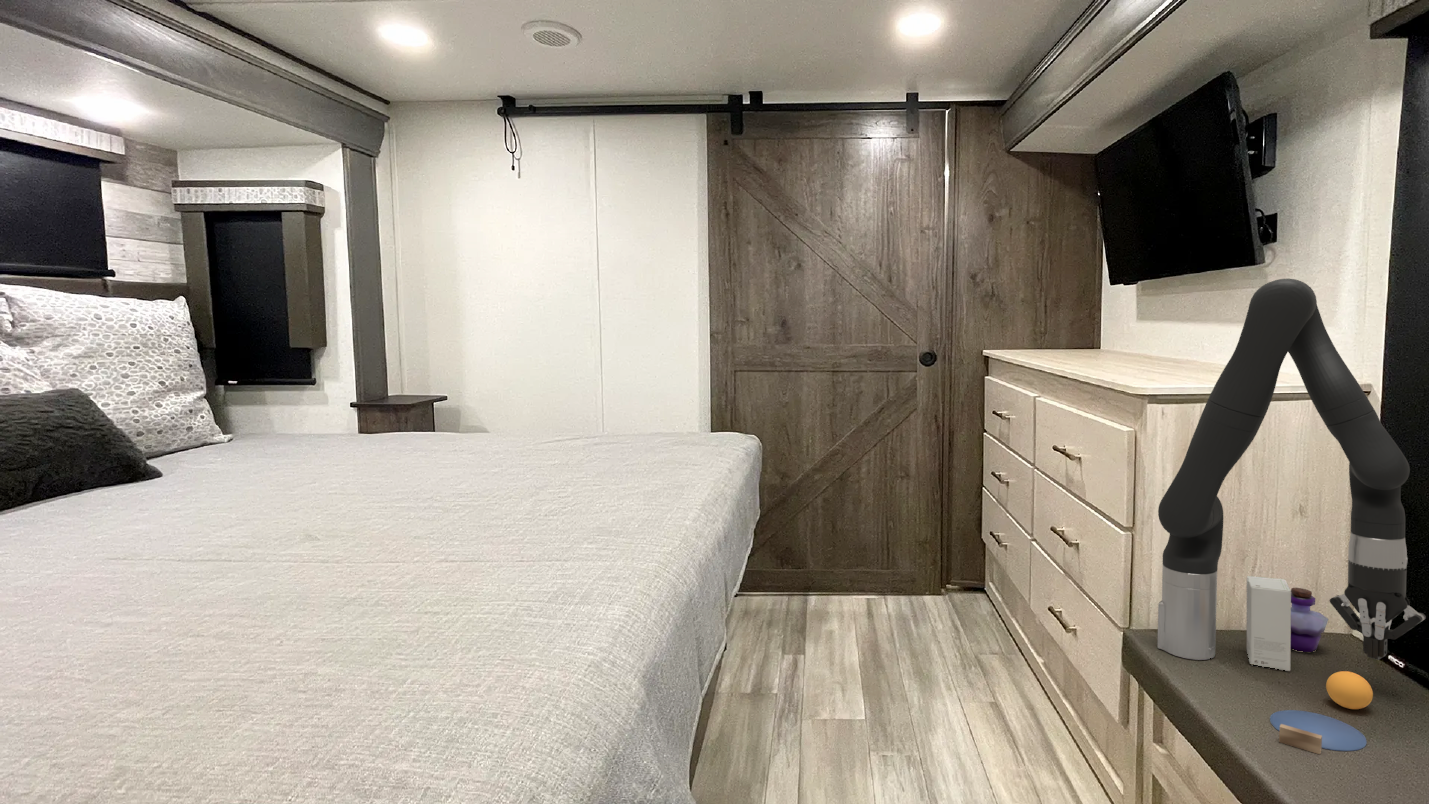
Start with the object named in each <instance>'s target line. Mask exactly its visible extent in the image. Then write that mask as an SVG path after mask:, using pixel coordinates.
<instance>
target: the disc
mask: <svg viewBox="0 0 1429 804" xmlns="http://www.w3.org/2000/svg"><path fill="white" fill-rule="evenodd" d="M1269 721H1270V724H1271V725H1272V726H1273V727H1274V729H1275V730H1277V731H1278V732H1279V730H1280V725H1281V724H1283V725H1287V726H1290V727H1294V728H1297V729H1301V730H1304V731H1308V732H1311V733H1314V734H1318V735H1321V736H1322V748H1321V749H1324V750H1329V751H1337V752H1355V751H1360V750H1362V749H1364V748H1365V747H1366V746H1367V738H1366V736H1365V735H1364V734H1363V733H1362V732H1361V731H1360V730H1358V729H1357V728H1355V727H1353V726H1352V725H1350V724H1348V723H1346V722H1344V721H1342V720H1339V719H1337V718H1334V717H1331V716H1328V715H1324V714H1321V713H1316V712H1311V711H1306V710H1298V709H1297V710H1296V709H1286V710H1285V709H1284V710H1278V711H1276V712H1273V713H1272V714H1271V715H1270V716H1269Z"/></svg>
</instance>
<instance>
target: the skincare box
mask: <svg viewBox="0 0 1429 804" xmlns="http://www.w3.org/2000/svg"><path fill="white" fill-rule="evenodd" d="M1291 605H1292V603H1291V588H1290V586H1289V584H1288V582H1287V580H1286V579H1285V578H1284V579H1282V578H1275V577H1273V578H1272V577H1262V576H1253V575H1247V576H1246V654H1248V655H1247V657H1248V658H1249V659H1248V658H1247V659H1248V662H1249V664H1254V665H1258V666H1262V667H1261V668H1264V667H1270V668H1275V669H1274V670H1277V669H1279V670H1278V671H1283V670H1285V672H1291V651H1292V650H1291ZM1258 666H1257V667H1258ZM1270 668H1269V669H1270Z"/></svg>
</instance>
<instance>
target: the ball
mask: <svg viewBox="0 0 1429 804" xmlns="http://www.w3.org/2000/svg"><path fill="white" fill-rule="evenodd" d="M1325 688H1326V691H1327V693H1328V696H1329V697H1330V698H1331V700H1332V701H1333V702H1335V704H1338V705H1339V706H1341V707H1343V708H1346V709H1348V710H1349V709H1350V710H1359V709H1360V710H1361V709H1364V708H1366V707H1367V706H1369V705H1370V704H1371V702H1372V701H1373V698H1374V691H1373V689H1372V686H1371V684H1370V683H1369V682H1368V681H1367V680H1366V679H1365V678H1364V677H1363V676H1361V675H1359V674H1357V673H1355V672H1352V671H1347V670H1344V671H1343V670H1342V671H1341V670H1340V671H1337V672H1334V673H1333V674H1331V675H1330V676H1328V678H1327V680H1326V684H1325Z"/></svg>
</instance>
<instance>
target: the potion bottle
mask: <svg viewBox="0 0 1429 804" xmlns="http://www.w3.org/2000/svg"><path fill="white" fill-rule="evenodd" d="M1290 590H1291V649H1294V650H1297V651H1303V652H1313V651H1315V650H1317V649H1318V646H1319V643H1320V640H1321V638H1322V633H1323V634H1324V633H1325V631H1326V628H1327V625H1328V621H1329V618H1328V617H1327V616H1325V615H1324V614H1322V613H1321V612H1319V611H1314V610H1311V607H1312V606H1316V597H1314V596H1313V595H1312V594H1313V592H1312V591H1311V590H1309V589H1306V588H1301V587H1292V588H1290Z"/></svg>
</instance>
